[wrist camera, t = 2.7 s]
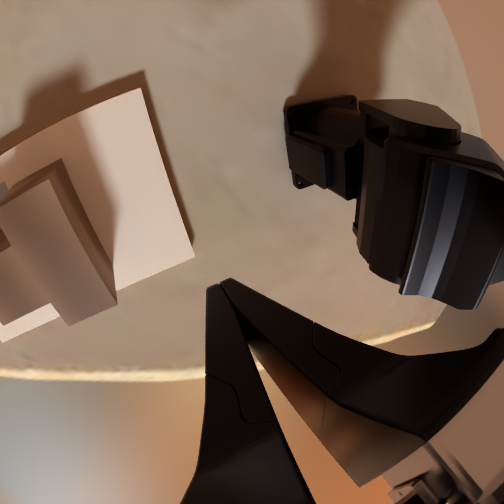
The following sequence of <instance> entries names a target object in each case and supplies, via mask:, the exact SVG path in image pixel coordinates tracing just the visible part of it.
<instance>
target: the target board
mask: <svg viewBox="0 0 504 504" xmlns="http://www.w3.org/2000/svg"><path fill="white" fill-rule="evenodd" d="M60 158H62V160H63V163H64V165H65V168H66V170H67V173H68V175H69V177H70V180H71V182H72V184H73V186H74V189H75V191H76V193H77V195H78V198H79V200H80V202H81V204H82V206H83V208H84V210H85V213H86V215H87V217H88V219H89V221H90V223H91V225H92V227H93V229H94V231H95V233H96V235H97V237H98V239H99V241H100V242H101V244H102V246H103V248H104V250H105V252H106V254H107V256H108V257H109V259H110V261H111V263H112V265H113V270H114V279H115V288H116V291H117V290H120V289H122V288H124V287H126V286H129V285H131V284H133V283H135V282H138V281H140V280H142V279H145V278H147V277H149V276H152V275H154V274H156V273H158V272H161V271H163V270H165V269H168V268H170V267H172V266H175V265H177V264H179V263H182V262H184V261H186V260H189V259H191V258H193V257H195V254H194V252H193V249H192V246H191V243H190V241H189V238H188V235H187V232H186V229H185V227H184V224H183V221H182V218H181V215H180V212H179V209H178V207H177V204H176V201H175V198H174V195H173V192H172V189H171V186H170V183H169V180H168V177H167V174H166V171H165V167H164V164H163V161H162V158H161V155H160V152H159V149H158V145H157V142H156V139H155V136H154V132H153V129H152V126H151V122H150V119H149V115H148V112H147V108H146V105H145V101H144V98H143V94H142V91H141V88H137V89H134V90H131V91H128V92H126V93H123V94H120V95H118V96H115V97H113V98H110V99H108V100H105V101H103V102H100V103H98V104H96V105H93V106H91V107H89V108H86V109H84V110H82V111H80V112H78V113H75V114H73V115H71V116H69V117H67V118H65V119H63V120H61V121H59V122H57V123H55V124H53V125H51V126H49V127H47V128H46V129H44V130H42V131H40V132H38V133H36V134H35V135H33V136H31V137H29V138H28V139H26V140H24V141H22V142H21V143H19V144H17V145H16V146H14V147H13V148H11V149H9V150H8V151H6V152H5V153H3V154H2V155H0V202H1V200H2V199H3V198H4V196H5V195H6V194H7V193H8V191H9V190H10V189H11V187H12V186H13V185H14V184H16V183H17V182H19V181H21V180H22V179H24V178H26V177H27V176H29V175H31V174H33V173H34V172H36V171H38V170H40V169H42V168H43V167H45V166H47V165H49V164H51V163H53V162H55V161H57V160H58V159H60ZM0 229H1V227H0ZM59 316H60V315H59V313H58V312H57V311H56V310H55V308H54V307H53V306H52V304H51V303H49V304H47V305H45V306H43V307H41V308H39V309H37V310H35V311H33V312H31V313H29V314H26V315H24V316H22V317H20V318H18V319H16V320H14V321H12V322H10V323H8V324H6V325H4V326H3V325H2V323H1V322H0V340H1V341H2V342H5V341H7V340H9V339H12V338H14V337H16V336H18V335H20V334H22V333H24V332H27V331H29V330H31V329H33V328H35V327H37V326H40V325H42V324H44V323H46V322H48V321H50V320H53V319H55V318H57V317H59Z"/></svg>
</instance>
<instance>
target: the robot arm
mask: <svg viewBox="0 0 504 504" xmlns="http://www.w3.org/2000/svg"><path fill="white" fill-rule="evenodd" d="M350 100H351V103H350ZM291 110H293V114H292V115H290V111H291ZM359 110H360V111H358V110H357V99H356V97H355V96H353V95H343V96H337V97H331V98H325V99H319V100H314V101H309V102H304V103H299V104H294V105H289V106H287V107H286V108H285V109H284V119H285V125H286V132H287V136H286V146H287V153H288V161H289V168H290V169H291V170H292V179H293V185H294V186H295V187H296V188H298V189H303V188H306V187H308V186H311V185H314V184H316V185H317V186H319V187H321V188H322V189H327V188H328V189H329V190H331V191H333V192H334V193H336V194H338V195H339V196H341V197H342V198H344V199H346V200H347V201H348V200H352V199H354V198H355V199H357V202H356V214H355V222H354V223H353V229H352V230H353V232H354V234H355V235H356V237H357V242H356V243H357V246H358V249H359V253H360V254H361V255H362V256H363V258H364V259H365V260H366V261H367V263H368V264H369V269H370V271H372V272H373V273H375V274H376V275H378V276H379V277H381V278H382V279H385V280H387V281H389V282H392V283H395V284H399V285H400V288H399V293H400V294H401V295H420V296H425V297H430V298H433V299H436V300H439V301H441V302H443V303H446V304H448V305H450V306H452V307H454V308H457V309H461V310H463V309H466V310H468V309H469V310H470V309H471V310H472V309H476V308H477V307H478V306H479V304H480V302H481V300H482V298H483V296H484V294H485V292H486V290H487V288H488V286H489V285H492V284H495V283H498V282H501V281H504V161H503V160H502V159H501V158H500V157H499V155H498V154H497V153H496V152H495V151H494V150H493V149H492V148H491V147H490V146H489V144H488V143H487V142H486V141H484V140H483V139H481V138H479V137H476V136H473V135H470V134H467V133H463V132H461V125H460V124H459V123H458V122H456V121H455V120H454V119H453V118H452V117H450V116H449V115H448V114H447V113H446V112H444V111H443V110H442V109H441V108H439V107H438V106H435V105H431V104H427V103H422V102H418V101H413V100H408V99H382V100H359ZM300 180H301V183H300V184H299V181H300ZM249 348H250V349H251V351H252V352H253V353H254V355H255V356H256V358H257V359H258V360H259V362H260V363H261V364H262V366H263V367H264V369H265V370H266V371H267V373H268V374H269V375H270V377H271V378H272V379H273V381H274V382H275V383H276V385H277V386H278V387H279V389H280V390H281V391H282V393H283V394H284V395H285V396H286V398H287V399H288V401H289V402H290V403H291V405H292V406H293V407H294V409H295V410H296V411H297V412H298V414H299V415H300V416H301V418H302V419H303V420H304V421H305V423H306V424H307V425H308V426H309V428H310V429H311V430H312V431H313V433H314V434H315V435H316V436H317V438H318V439H319V440H320V441H321V443H322V444H323V445H324V446H325V448H326V449H327V450H328V451H329V453H330V454H331V455H332V456H333V457H334V458H335V460H336V461H337V462H338V463H339V465H340V466H341V467H342V468H343V469H344V470H345V472H346V473H347V474H348V475H349V476H350V477H351V479H352V480H353V481H354V482H355V483H356V484H357V486H359V487H361V486H363V485H365V484H367V483H368V482H370V481H371V480H373V479H375V478H377V477H378V476H380V475H382V476H383V478H384V479H385V480H386V481H387V483H388V484H389V486H390V487H391V488H392V489H393V490H392V491H390V492H389V493H388V495H389V496H390V498H391V499H392V500H393V502H394V503H395V504H446V503H447V502H448V504H504V328H497V329H495V330H494V331H493V332H492V334H491V335H490V336H489V337H488V338H487V339H486V341H484V342H483V343H482V344H480V345H478V346H476V347H473V348H470V349H465V350H458V351H451V352H444V353H436V354H426V355H417V356H406V355H399V354H394V353H391V352H388V351H385V350H382V349H379V348H376V347H373V346H370V345H368V344H365V343H362V342H359V341H356V340H354V339H351V338H348V337H346V336H343V335H341V334H338V333H336V332H334V331H332V330H330V329H328V328H326V327H323V326H322V325H320V324H318V323H316V322H314V323H313V321H312V320H310V319H308V318H306V317H304V316H302V315H300V314H298V313H296V312H294V311H292V310H291V309H289V308H287V307H285V306H283V305H281V304H279V303H277V302H275V301H273V300H272V299H270V298H268V297H266V296H264V295H262V294H260V293H258V292H257V291H255V290H253V289H251V288H249V287H247V286H245V285H244V284H242V283H240V282H238V281H236V280H234V279H233V278H228V279H226V280H224V281H221V282H220V284H215V285H212V286H210V287H208V288H207V289H206V333H205V374H206V376H205V406H204V418H203V424H202V432H201V440H200V448H199V456H198V462H197V466H196V470H195V473H194V476H193V478H192V480H191V482H190V485H189V487H188V488H187V491H186V493H185V495H184V497H183V499H182V501H181V503H180V504H316V503H315V501H314V498H313V497H312V494H311V492H310V490H309V488H308V486H307V484H306V482H305V480H304V478H303V476H302V473H301V472H300V469H299V467H298V465H297V463H296V461H295V458H294V456H293V454H292V452H291V450H290V447H289V445H288V443H287V441H286V439H285V436H284V434H283V432H282V429H281V427H280V424H279V422H278V420H277V417H276V415H275V412H274V410H273V407H272V405H271V402H270V400H269V397H268V395H267V392H266V390H265V387H264V385H263V382H262V380H261V377H260V375H259V372H258V369H257V367H256V364H255V362H254V359H253V357H252V354H251V351H250V349H249Z"/></svg>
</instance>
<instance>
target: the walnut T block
mask: <svg viewBox="0 0 504 504" xmlns="http://www.w3.org/2000/svg"><path fill="white" fill-rule="evenodd" d="M0 227H1V229H0V322H1V323H2V325H3V326H4V325H6V324H8V323H10V322H12V321H14V320H16V319H18V318H20V317H22V316H24V315H26V314H29V313H31V312H33V311H35V310H37V309H39V308H41V307H43V306H45V305H47V304H49V303H51V304H52V306H53V307H54V308H55V310H56V311H57V312H58V313H59V315H60V316H61V317H62V318H63V320H64V321H65V322H66V323H67V325H68V326H70V325H73V324H75V323H77V322H79V321H82V320H84V319H86V318H88V317H91V316H93V315H95V314H97V313H100V312H102V311H104V310H106V309H109V308H111V307H113V306H116V305H118V303H117V296H116V288H115V279H114V270H113V265H112V263H111V261H110V259H109V257H108V256H107V254H106V252H105V250H104V248H103V246H102V244H101V242H100V241H99V239H98V237H97V235H96V233H95V231H94V229H93V227H92V225H91V223H90V221H89V219H88V217H87V215H86V213H85V210H84V208H83V206H82V204H81V202H80V200H79V198H78V195H77V193H76V191H75V189H74V186H73V184H72V182H71V180H70V177H69V175H68V173H67V170H66V168H65V165H64V163H63V160H62V158H60V159H58V160H57V161H55V162H53V163H51V164H49V165H47V166H45V167H43V168H42V169H40V170H38V171H36V172H34V173H33V174H31V175H29V176H27V177H26V178H24V179H22V180H21V181H19V182H17V183H16V184H14V185H13V186H12V187H11V189H10V190H9V191H8V193H7V194H6V195H5V196H4V198H3V199H2V200H1V202H0Z"/></svg>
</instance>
